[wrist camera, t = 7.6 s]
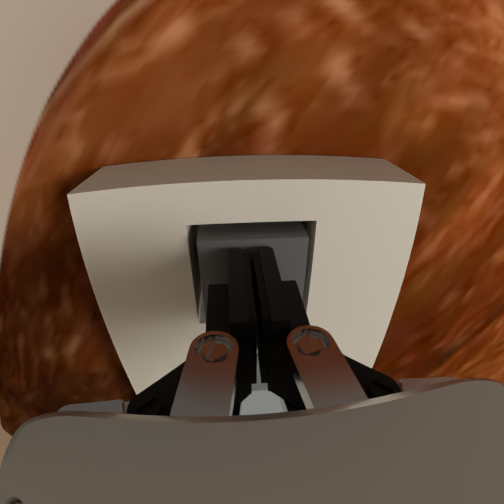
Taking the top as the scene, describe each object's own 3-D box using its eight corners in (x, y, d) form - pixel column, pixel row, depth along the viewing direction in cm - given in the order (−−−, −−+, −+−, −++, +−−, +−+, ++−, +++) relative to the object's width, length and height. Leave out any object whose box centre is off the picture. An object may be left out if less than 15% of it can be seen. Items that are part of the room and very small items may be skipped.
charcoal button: (293, 206, 14) (308, 237, 11) (288, 280, 16) (300, 320, 13) (202, 209, 13) (196, 241, 11) (209, 284, 15) (206, 325, 13)
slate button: (289, 342, 16) (299, 386, 13) (284, 385, 18) (291, 425, 15) (213, 346, 16) (212, 392, 13) (219, 388, 18) (220, 430, 15)
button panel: (383, 158, 14) (425, 183, 11) (326, 408, 25) (335, 444, 22) (103, 166, 14) (67, 194, 10) (173, 416, 25) (169, 454, 21)
